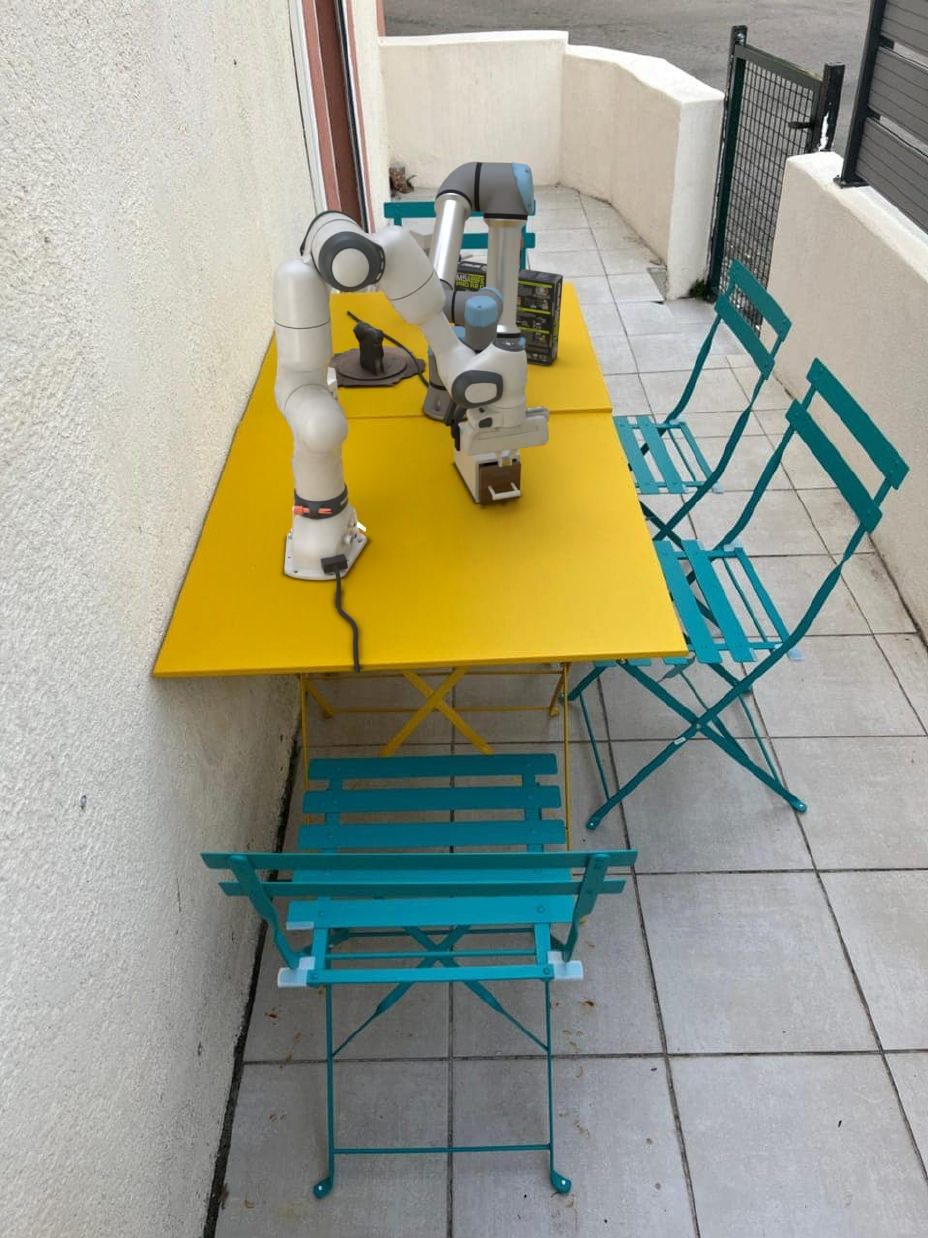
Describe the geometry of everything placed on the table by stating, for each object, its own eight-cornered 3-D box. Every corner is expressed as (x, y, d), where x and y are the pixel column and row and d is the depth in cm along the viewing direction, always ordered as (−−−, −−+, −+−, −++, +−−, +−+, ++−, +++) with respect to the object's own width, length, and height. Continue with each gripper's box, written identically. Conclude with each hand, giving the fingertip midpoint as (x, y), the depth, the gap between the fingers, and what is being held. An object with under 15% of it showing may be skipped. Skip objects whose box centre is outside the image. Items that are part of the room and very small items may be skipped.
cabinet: (518, 495, 221) (520, 454, 214) (475, 502, 219) (475, 461, 211) (495, 457, 236) (496, 417, 228) (454, 464, 233) (453, 423, 226)
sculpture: (406, 397, 263) (403, 345, 252) (297, 384, 270) (290, 333, 259) (437, 352, 287) (436, 303, 277) (336, 341, 294) (331, 293, 284)
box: (558, 357, 283) (564, 272, 266) (551, 366, 278) (556, 280, 261) (461, 342, 293) (461, 259, 276) (453, 350, 288) (452, 266, 271)
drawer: (526, 509, 215) (528, 474, 208) (486, 516, 213) (487, 480, 206) (497, 462, 232) (498, 428, 226) (460, 467, 230) (459, 433, 224)
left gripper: (545, 399, 204) (542, 452, 213) (459, 410, 199) (460, 464, 208) (554, 411, 199) (551, 465, 208) (467, 423, 195) (467, 478, 204)
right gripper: (522, 352, 218) (519, 432, 232) (428, 363, 213) (431, 444, 227) (532, 364, 212) (528, 445, 226) (436, 376, 207) (438, 458, 221)
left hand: (504, 465), depth 208 cm, fingers closed
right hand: (480, 445), depth 226 cm, fingers closed on cabinet, 11 cm apart
